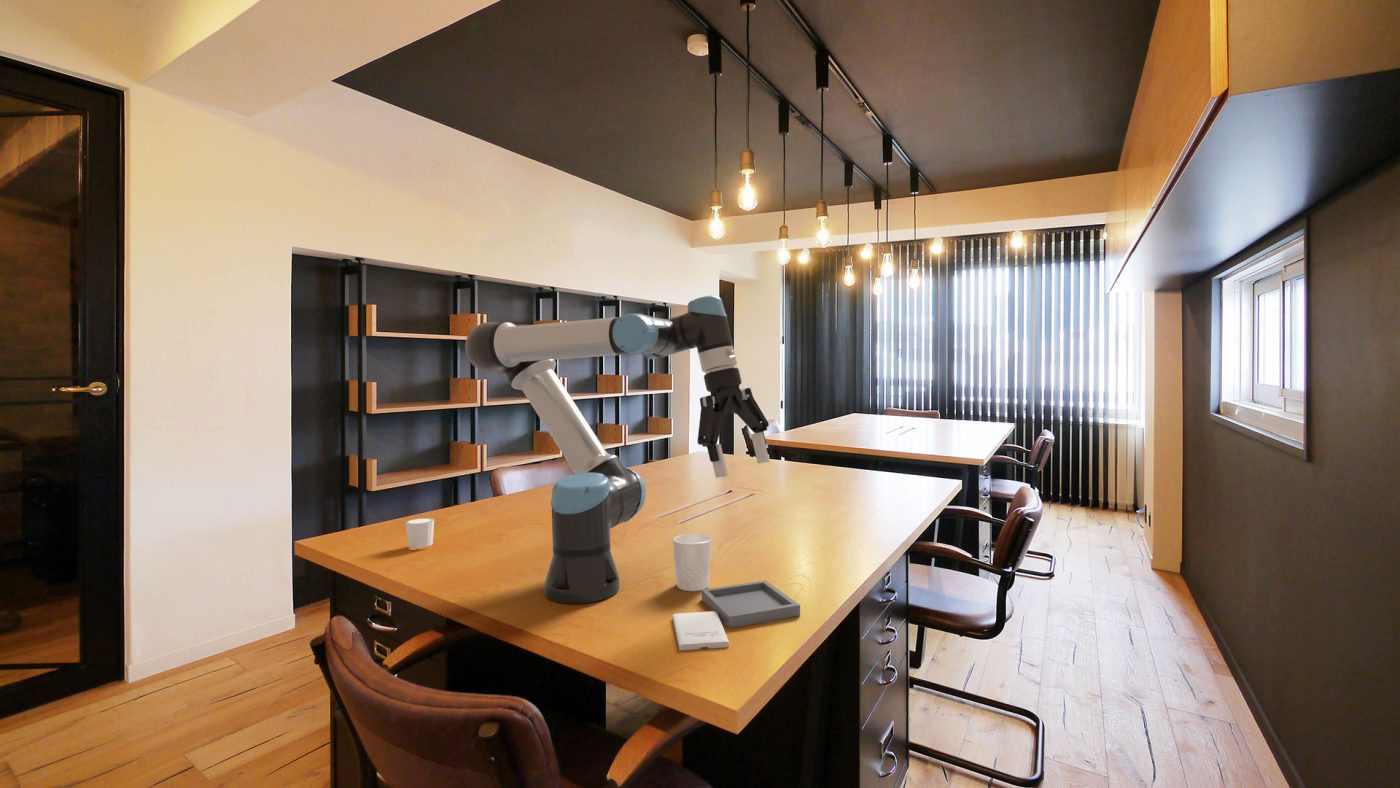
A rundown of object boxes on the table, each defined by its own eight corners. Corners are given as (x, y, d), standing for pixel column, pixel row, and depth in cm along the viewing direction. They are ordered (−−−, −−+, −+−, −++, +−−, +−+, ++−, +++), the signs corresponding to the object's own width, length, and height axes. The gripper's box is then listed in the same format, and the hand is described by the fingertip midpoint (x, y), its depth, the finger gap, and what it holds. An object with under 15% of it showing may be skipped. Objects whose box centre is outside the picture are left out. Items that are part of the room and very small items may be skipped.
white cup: (707, 593, 122) (707, 545, 122) (669, 591, 124) (669, 543, 123) (714, 580, 130) (714, 534, 129) (678, 578, 131) (678, 532, 131)
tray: (729, 627, 106) (729, 616, 106) (701, 599, 119) (701, 589, 119) (800, 615, 111) (800, 605, 111) (765, 590, 124) (765, 580, 124)
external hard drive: (717, 619, 111) (729, 650, 99) (672, 622, 110) (679, 653, 98) (717, 610, 111) (729, 640, 99) (672, 613, 110) (679, 643, 98)
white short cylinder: (400, 550, 154) (399, 523, 154) (417, 543, 161) (416, 517, 160) (424, 551, 153) (423, 524, 153) (440, 544, 160) (439, 517, 159)
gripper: (691, 372, 115) (716, 481, 114) (770, 360, 133) (792, 455, 132) (665, 380, 120) (689, 485, 119) (744, 368, 138) (766, 459, 137)
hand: (743, 469), depth 125 cm, fingers open, 13 cm apart
